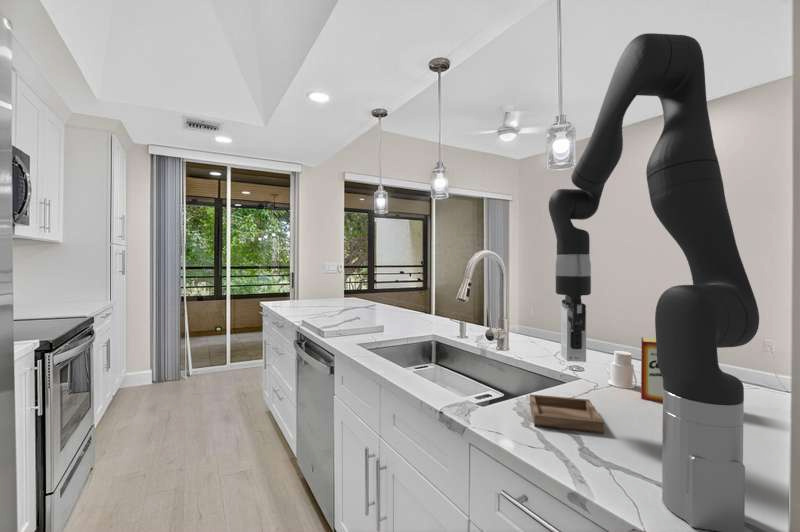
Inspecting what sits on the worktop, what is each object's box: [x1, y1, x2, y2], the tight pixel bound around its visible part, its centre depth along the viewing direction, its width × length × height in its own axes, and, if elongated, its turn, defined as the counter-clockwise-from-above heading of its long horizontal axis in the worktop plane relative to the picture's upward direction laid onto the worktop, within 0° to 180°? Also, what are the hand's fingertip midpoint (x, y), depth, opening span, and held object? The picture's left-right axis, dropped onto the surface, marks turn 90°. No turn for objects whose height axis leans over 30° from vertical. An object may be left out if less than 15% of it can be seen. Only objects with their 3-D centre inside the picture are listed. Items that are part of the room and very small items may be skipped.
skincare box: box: [560, 306, 587, 363], centre depth 88 cm, size 6×4×12 cm
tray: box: [529, 393, 605, 435], centre depth 89 cm, size 14×14×2 cm
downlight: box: [606, 350, 637, 390], centre depth 113 cm, size 8×7×10 cm
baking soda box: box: [640, 337, 663, 403], centre depth 102 cm, size 10×6×16 cm
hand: (573, 345), depth 88 cm, fingers closed on skincare box, 6 cm apart
